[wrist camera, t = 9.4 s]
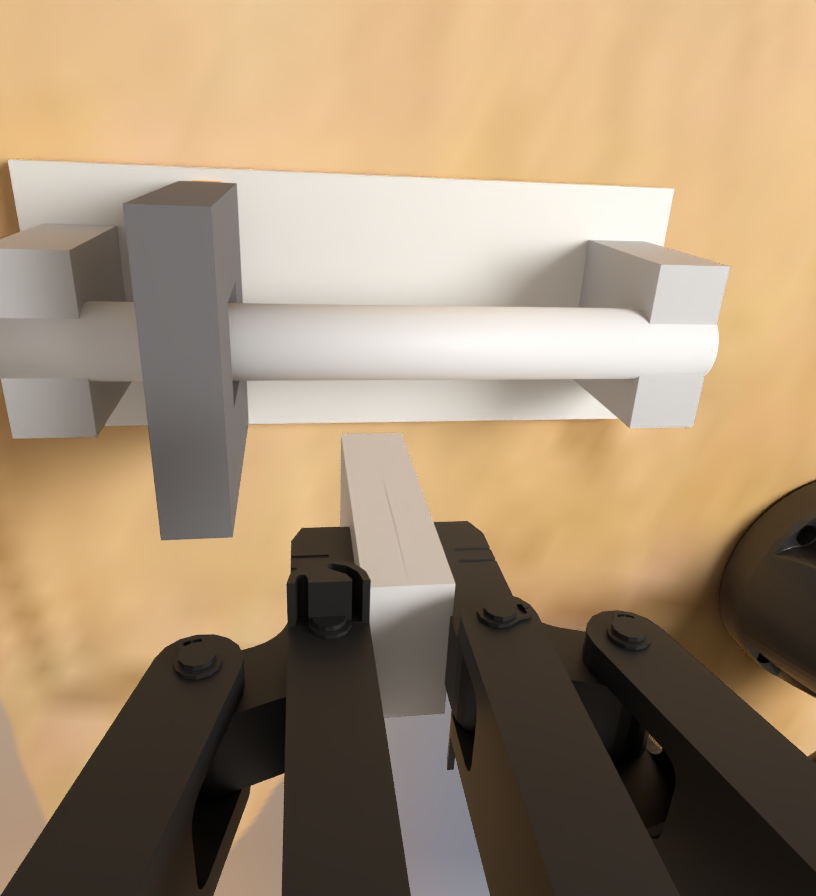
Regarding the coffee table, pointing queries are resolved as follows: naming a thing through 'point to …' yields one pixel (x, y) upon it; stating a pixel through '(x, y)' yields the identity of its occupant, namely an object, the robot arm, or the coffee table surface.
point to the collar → (189, 351)
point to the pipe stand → (369, 300)
